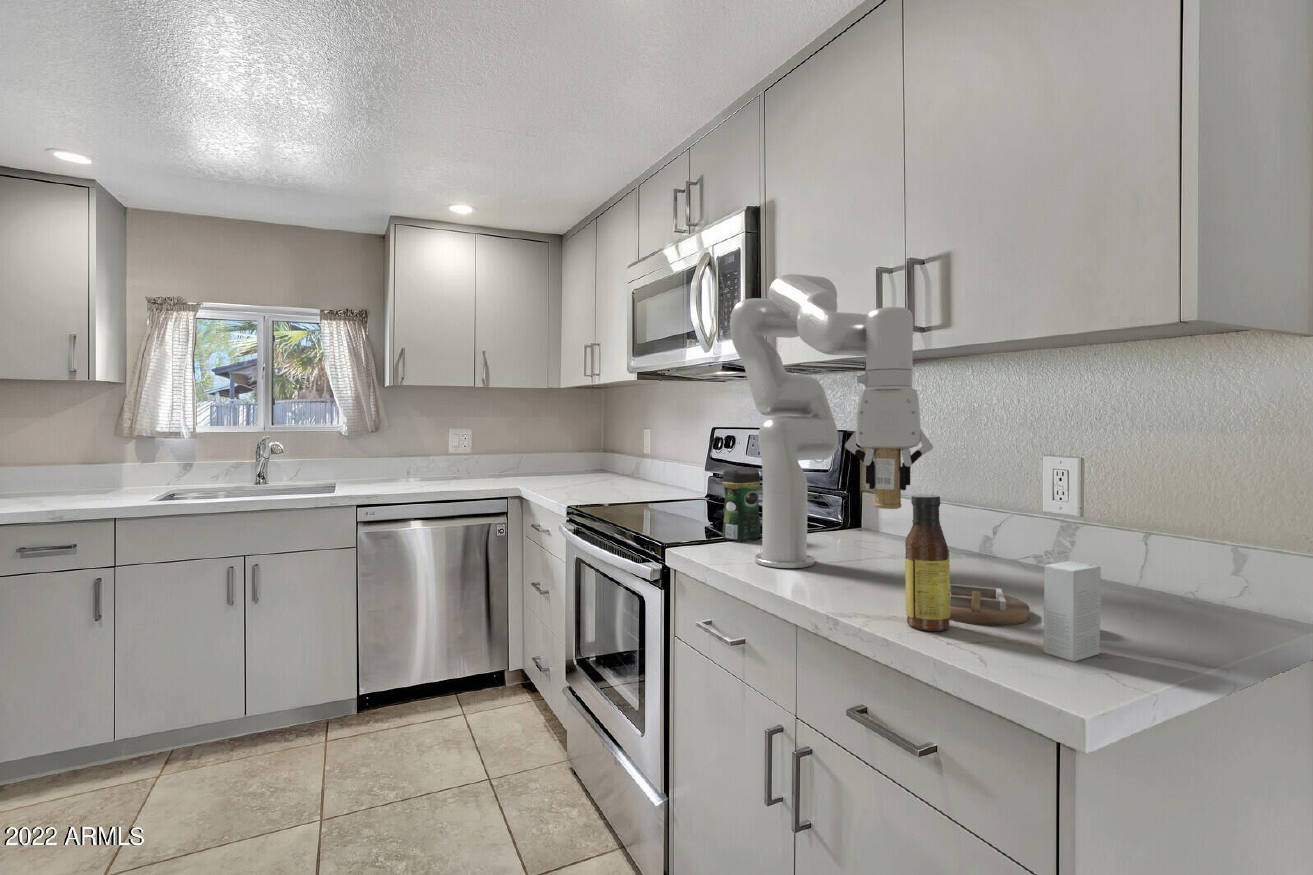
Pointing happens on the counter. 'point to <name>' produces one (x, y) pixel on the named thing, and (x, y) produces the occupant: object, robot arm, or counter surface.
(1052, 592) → the skincare box
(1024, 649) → the counter surface
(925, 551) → the sauce bottle
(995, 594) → the brown piece
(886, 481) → the spice jar
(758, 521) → the coffee jar
